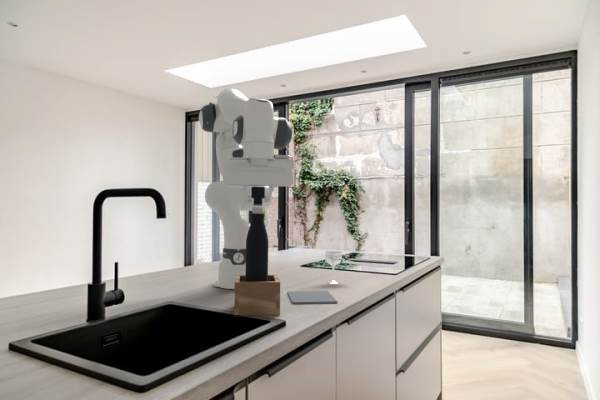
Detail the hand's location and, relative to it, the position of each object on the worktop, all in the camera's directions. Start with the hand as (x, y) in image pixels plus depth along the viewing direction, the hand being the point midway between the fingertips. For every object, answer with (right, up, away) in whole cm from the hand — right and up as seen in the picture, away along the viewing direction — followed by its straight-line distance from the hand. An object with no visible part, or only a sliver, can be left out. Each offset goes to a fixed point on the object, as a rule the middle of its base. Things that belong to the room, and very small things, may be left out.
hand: (257, 201), depth 119 cm
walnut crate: (0, -31, -1) cm, 31 cm away
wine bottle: (0, -26, 0) cm, 26 cm away
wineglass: (+25, -32, +44) cm, 60 cm away
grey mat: (+16, -32, +16) cm, 39 cm away
